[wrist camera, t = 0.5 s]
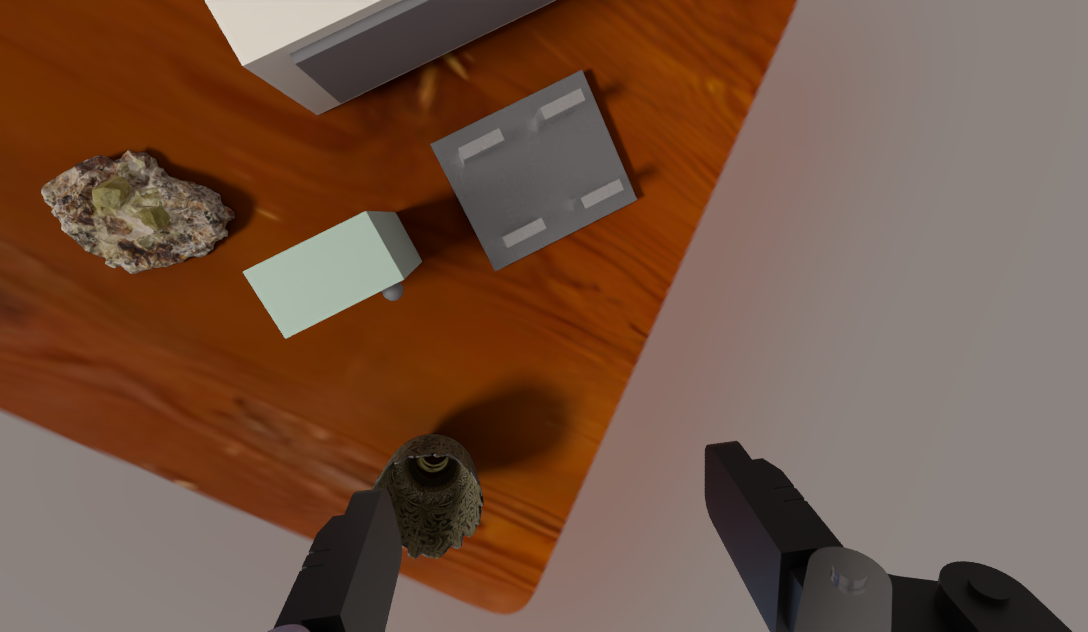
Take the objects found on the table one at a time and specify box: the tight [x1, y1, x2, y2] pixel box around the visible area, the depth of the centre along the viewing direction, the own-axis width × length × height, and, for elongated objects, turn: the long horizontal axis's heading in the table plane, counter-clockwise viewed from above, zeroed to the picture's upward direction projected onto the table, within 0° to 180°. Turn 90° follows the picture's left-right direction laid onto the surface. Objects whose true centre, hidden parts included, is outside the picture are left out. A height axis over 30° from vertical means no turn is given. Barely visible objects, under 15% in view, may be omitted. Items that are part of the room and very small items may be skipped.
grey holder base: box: [430, 70, 637, 271], centre depth 36 cm, size 10×12×4 cm
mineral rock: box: [41, 150, 235, 274], centre depth 34 cm, size 11×4×8 cm
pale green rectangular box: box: [243, 211, 422, 339], centre depth 32 cm, size 5×7×11 cm
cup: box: [372, 434, 484, 559], centre depth 37 cm, size 8×7×8 cm
